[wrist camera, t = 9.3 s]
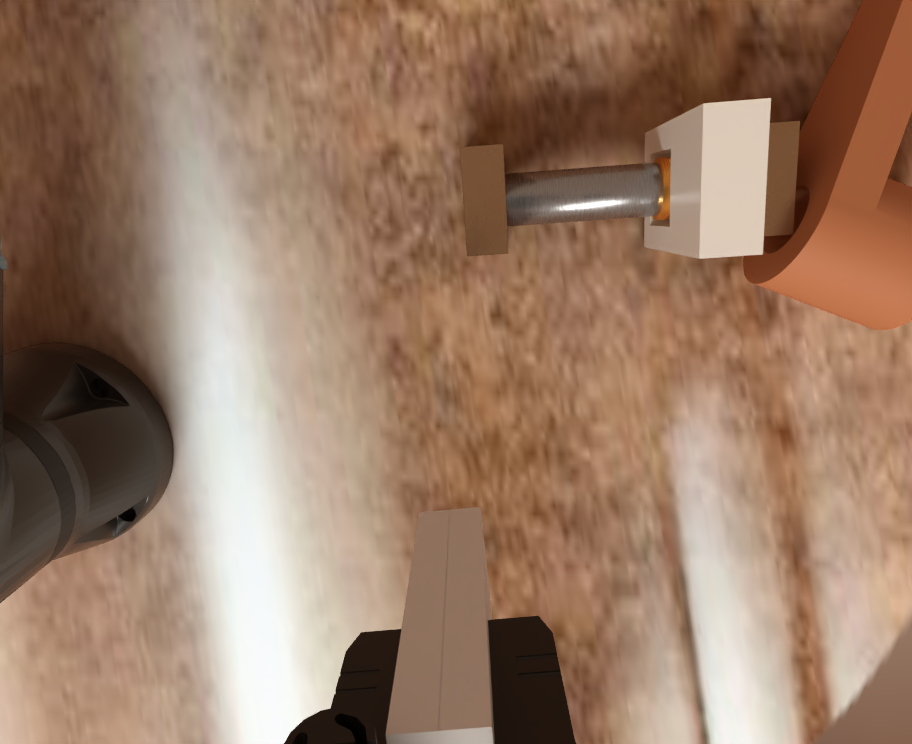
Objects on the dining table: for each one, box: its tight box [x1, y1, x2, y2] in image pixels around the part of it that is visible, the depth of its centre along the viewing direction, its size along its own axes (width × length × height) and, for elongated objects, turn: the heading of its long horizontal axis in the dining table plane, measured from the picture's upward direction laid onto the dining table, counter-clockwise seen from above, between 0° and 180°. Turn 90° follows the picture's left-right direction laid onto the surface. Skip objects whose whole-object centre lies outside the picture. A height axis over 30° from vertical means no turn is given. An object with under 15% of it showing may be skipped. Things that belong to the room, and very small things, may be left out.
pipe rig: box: [460, 121, 800, 256], centre depth 37 cm, size 18×6×6 cm, turn 94°
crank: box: [743, 0, 912, 330], centre depth 35 cm, size 20×8×8 cm, turn 160°
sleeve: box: [644, 98, 771, 259], centre depth 34 cm, size 3×7×11 cm, turn 4°
